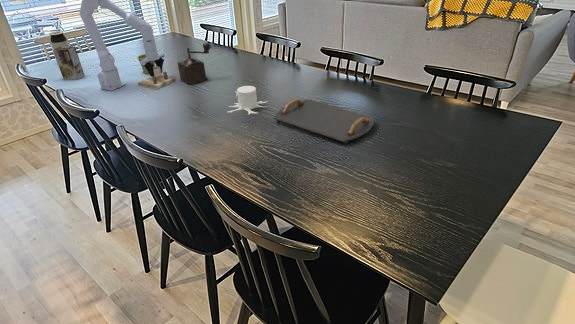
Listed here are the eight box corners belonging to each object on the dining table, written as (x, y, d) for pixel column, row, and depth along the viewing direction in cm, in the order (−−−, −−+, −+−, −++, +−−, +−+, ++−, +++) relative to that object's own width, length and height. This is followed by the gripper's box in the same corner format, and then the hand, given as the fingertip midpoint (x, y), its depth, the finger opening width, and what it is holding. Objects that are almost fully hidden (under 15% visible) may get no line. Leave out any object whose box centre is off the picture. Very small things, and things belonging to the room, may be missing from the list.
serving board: (267, 122, 154) (267, 108, 150) (302, 103, 169) (302, 90, 165) (351, 150, 133) (352, 135, 129) (381, 126, 148) (383, 111, 144)
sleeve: (156, 79, 195) (154, 70, 192) (149, 78, 197) (147, 68, 195) (163, 76, 199) (161, 67, 196) (157, 75, 201) (154, 65, 198)
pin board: (156, 89, 187) (154, 79, 185) (138, 85, 193) (135, 75, 190) (175, 80, 197) (173, 71, 194) (156, 77, 202) (154, 68, 200)
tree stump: (246, 94, 179) (244, 78, 175) (278, 103, 169) (277, 86, 164) (215, 109, 166) (212, 92, 161) (248, 120, 155) (246, 102, 151)
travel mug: (69, 65, 226) (59, 34, 216) (56, 65, 226) (45, 34, 216) (76, 60, 233) (66, 30, 223) (63, 61, 233) (53, 31, 223)
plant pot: (155, 74, 206) (151, 58, 202) (138, 74, 207) (134, 59, 202) (160, 68, 214) (157, 53, 210) (144, 69, 215) (140, 53, 210)
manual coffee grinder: (189, 85, 190) (182, 49, 181) (179, 79, 198) (173, 45, 188) (216, 78, 198) (211, 43, 189) (206, 73, 206) (201, 39, 196)
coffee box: (85, 75, 209) (75, 46, 200) (78, 79, 203) (68, 49, 195) (69, 75, 210) (59, 46, 201) (62, 79, 204) (51, 49, 196)
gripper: (145, 53, 183) (151, 80, 190) (166, 45, 194) (171, 71, 201) (134, 51, 186) (141, 78, 193) (156, 44, 197) (162, 69, 204)
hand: (156, 74), depth 197 cm, fingers closed on sleeve, 5 cm apart
